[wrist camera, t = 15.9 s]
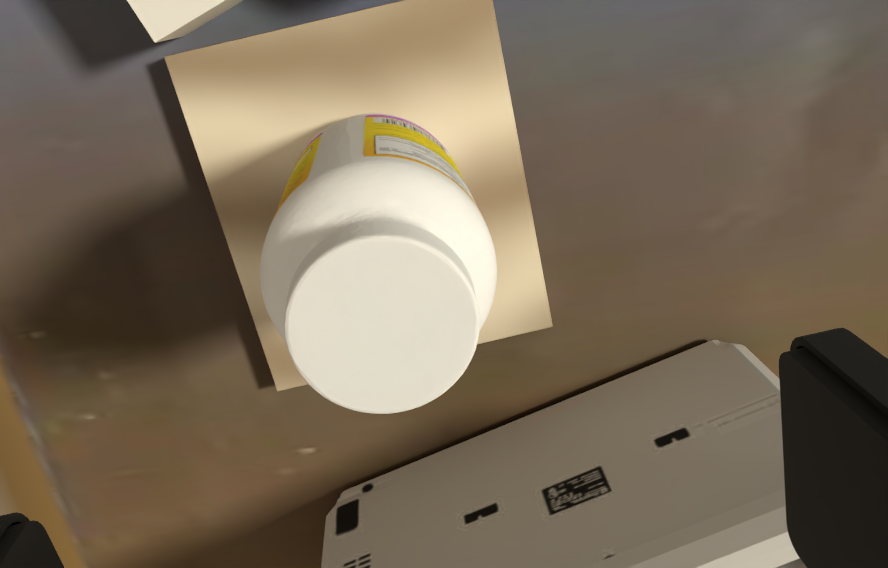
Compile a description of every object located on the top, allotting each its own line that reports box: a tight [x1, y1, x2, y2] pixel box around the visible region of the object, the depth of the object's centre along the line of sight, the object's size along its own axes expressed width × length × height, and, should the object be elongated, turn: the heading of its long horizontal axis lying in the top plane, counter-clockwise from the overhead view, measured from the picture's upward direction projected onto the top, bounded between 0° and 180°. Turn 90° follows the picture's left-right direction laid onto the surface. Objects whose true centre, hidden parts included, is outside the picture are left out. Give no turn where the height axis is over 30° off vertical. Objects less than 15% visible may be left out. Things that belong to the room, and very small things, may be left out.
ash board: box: [164, 0, 553, 391], centre depth 31 cm, size 14×12×1 cm
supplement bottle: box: [260, 113, 497, 414], centre depth 24 cm, size 7×7×13 cm
